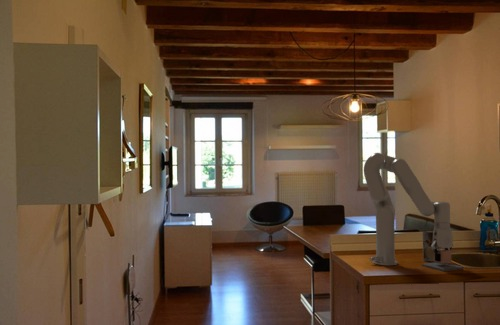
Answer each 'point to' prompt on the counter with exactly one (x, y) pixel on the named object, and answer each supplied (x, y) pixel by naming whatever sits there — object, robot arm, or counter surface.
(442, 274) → the counter surface
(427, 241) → the coffee box
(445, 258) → the terracotta cube
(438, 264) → the mat
